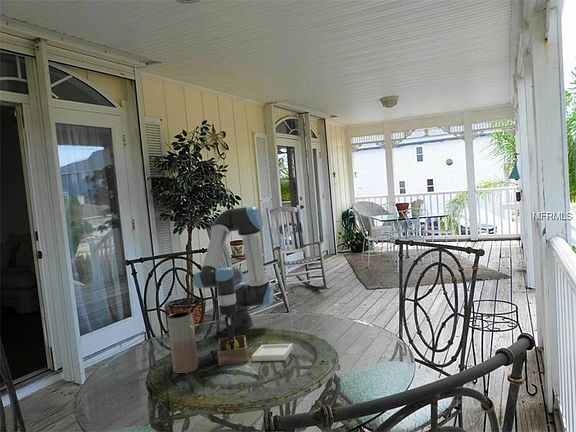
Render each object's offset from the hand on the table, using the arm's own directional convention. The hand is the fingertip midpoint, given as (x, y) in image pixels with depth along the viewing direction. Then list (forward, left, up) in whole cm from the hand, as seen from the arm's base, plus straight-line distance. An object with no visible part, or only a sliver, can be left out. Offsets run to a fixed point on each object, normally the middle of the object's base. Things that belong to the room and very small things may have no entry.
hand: (233, 355), depth 190 cm
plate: (0, +18, 0) cm, 18 cm away
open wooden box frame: (0, 0, 0) cm, 0 cm away
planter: (+15, -15, 0) cm, 21 cm away
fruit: (0, 0, 0) cm, 0 cm away
